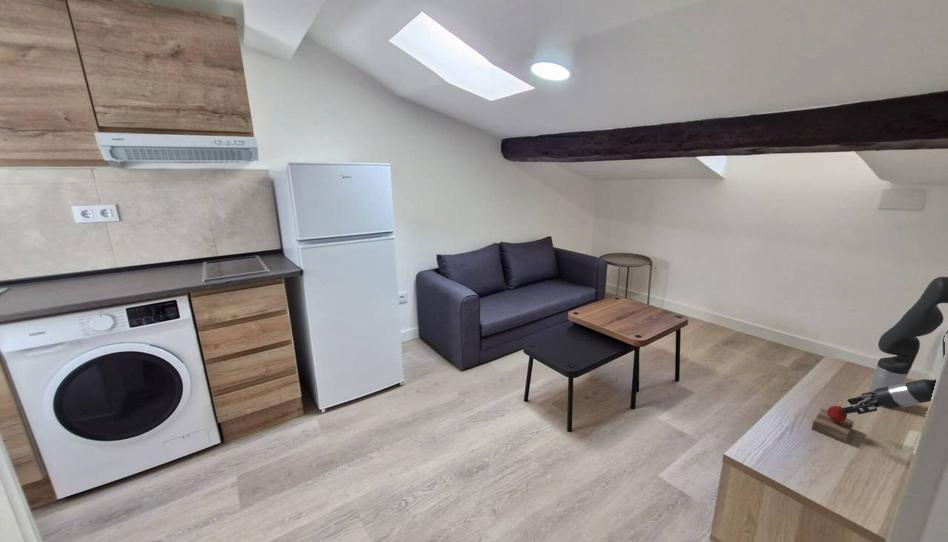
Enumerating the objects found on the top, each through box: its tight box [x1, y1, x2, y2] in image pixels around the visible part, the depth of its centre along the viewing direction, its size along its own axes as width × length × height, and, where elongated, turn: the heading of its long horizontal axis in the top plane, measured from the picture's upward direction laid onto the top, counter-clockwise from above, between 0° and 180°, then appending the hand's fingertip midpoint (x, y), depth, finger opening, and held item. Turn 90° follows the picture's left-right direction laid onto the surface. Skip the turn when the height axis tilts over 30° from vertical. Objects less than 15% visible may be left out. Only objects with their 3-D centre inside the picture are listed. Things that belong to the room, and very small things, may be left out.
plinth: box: [811, 409, 855, 444], centre depth 152 cm, size 12×10×4 cm
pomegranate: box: [826, 403, 848, 422], centre depth 150 cm, size 6×6×8 cm
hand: (846, 406), depth 147 cm, fingers open, 8 cm apart
